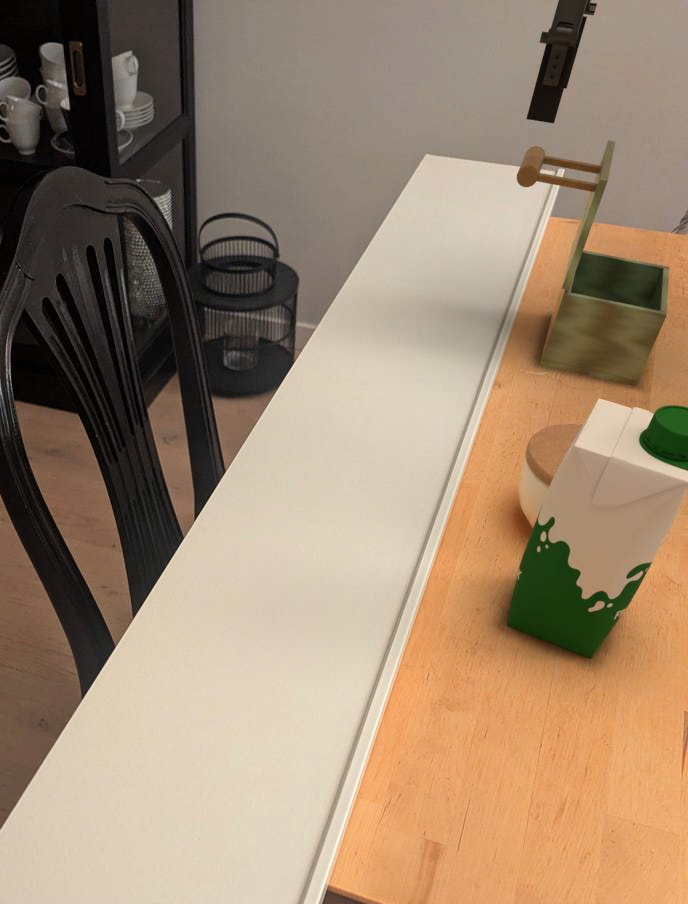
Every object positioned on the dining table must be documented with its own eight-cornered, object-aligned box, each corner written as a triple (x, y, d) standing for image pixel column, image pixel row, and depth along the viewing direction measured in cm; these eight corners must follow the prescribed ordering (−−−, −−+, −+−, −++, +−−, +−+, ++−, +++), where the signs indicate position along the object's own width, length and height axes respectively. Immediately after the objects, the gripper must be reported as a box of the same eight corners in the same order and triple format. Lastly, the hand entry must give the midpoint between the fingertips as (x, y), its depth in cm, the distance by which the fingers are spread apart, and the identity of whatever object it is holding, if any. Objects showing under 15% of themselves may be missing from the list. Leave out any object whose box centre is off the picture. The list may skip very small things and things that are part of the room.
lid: (615, 141, 101) (534, 127, 103) (607, 180, 92) (518, 164, 94) (579, 245, 110) (504, 230, 111) (568, 290, 101) (487, 273, 103)
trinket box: (622, 573, 82) (665, 488, 75) (501, 548, 83) (533, 463, 76) (617, 503, 89) (655, 420, 82) (505, 482, 90) (535, 398, 84)
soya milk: (599, 670, 73) (711, 463, 59) (490, 627, 76) (571, 419, 62) (623, 606, 79) (730, 402, 64) (520, 568, 81) (601, 364, 67)
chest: (640, 335, 114) (669, 266, 108) (635, 386, 105) (667, 314, 99) (551, 316, 116) (574, 248, 110) (539, 364, 107) (563, 293, 101)
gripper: (589, -180, 89) (525, 68, 105) (565, -162, 73) (494, 130, 88) (669, -173, 88) (593, 78, 103) (663, -153, 71) (574, 143, 86)
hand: (547, 102), depth 95 cm, fingers open, 13 cm apart
